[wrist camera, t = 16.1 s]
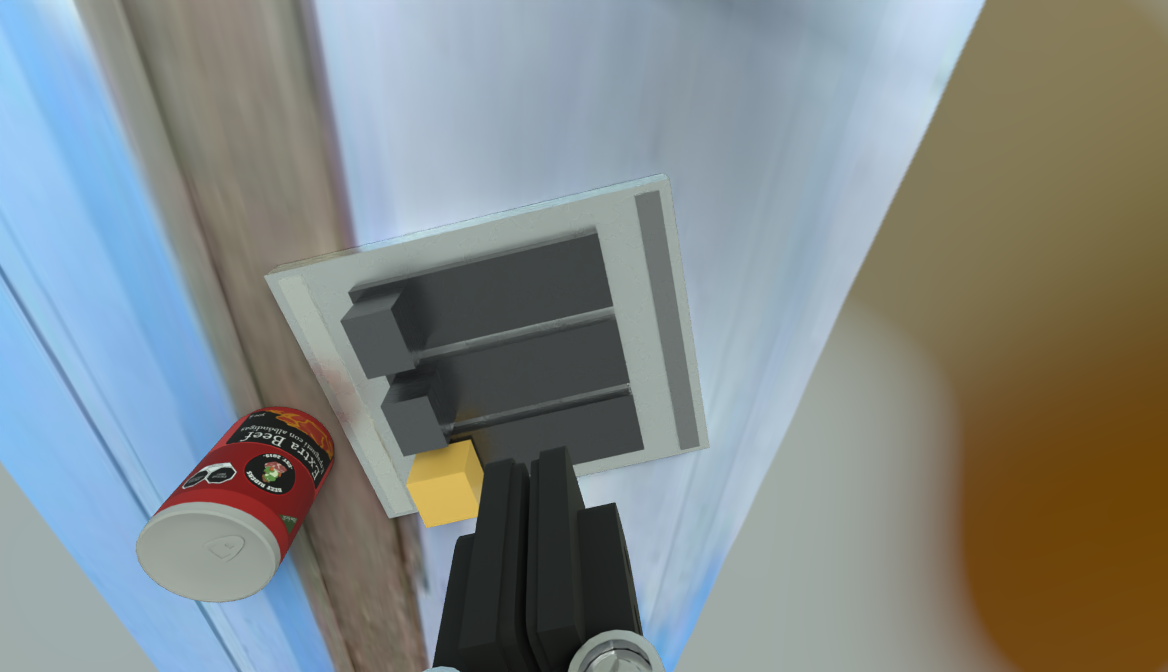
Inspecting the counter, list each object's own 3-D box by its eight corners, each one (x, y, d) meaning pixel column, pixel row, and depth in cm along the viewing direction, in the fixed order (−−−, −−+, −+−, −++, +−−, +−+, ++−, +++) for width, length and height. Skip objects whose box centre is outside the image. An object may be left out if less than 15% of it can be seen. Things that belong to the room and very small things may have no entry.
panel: (662, 173, 35) (686, 193, 29) (702, 432, 44) (726, 487, 38) (277, 265, 36) (226, 303, 30) (395, 500, 45) (373, 564, 39)
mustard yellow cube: (470, 439, 39) (464, 471, 36) (487, 481, 41) (482, 515, 38) (416, 451, 39) (405, 484, 36) (435, 493, 41) (426, 528, 38)
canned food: (357, 439, 42) (301, 551, 33) (301, 500, 45) (232, 622, 35) (266, 383, 40) (175, 487, 30) (211, 451, 42) (110, 567, 32)
